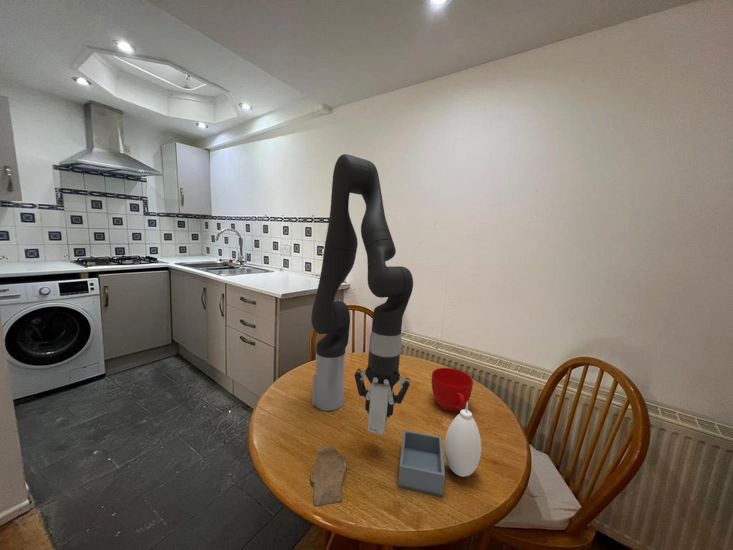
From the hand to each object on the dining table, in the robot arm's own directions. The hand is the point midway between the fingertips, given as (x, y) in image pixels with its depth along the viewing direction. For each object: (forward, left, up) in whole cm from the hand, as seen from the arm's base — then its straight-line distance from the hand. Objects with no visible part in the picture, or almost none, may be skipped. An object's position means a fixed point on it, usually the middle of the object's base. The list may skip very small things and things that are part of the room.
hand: (378, 413), depth 70 cm
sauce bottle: (+20, -2, -11) cm, 23 cm away
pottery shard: (-9, -10, -11) cm, 17 cm away
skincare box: (0, 0, -4) cm, 4 cm away
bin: (+11, -3, -10) cm, 15 cm away
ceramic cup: (+21, +24, -11) cm, 34 cm away
